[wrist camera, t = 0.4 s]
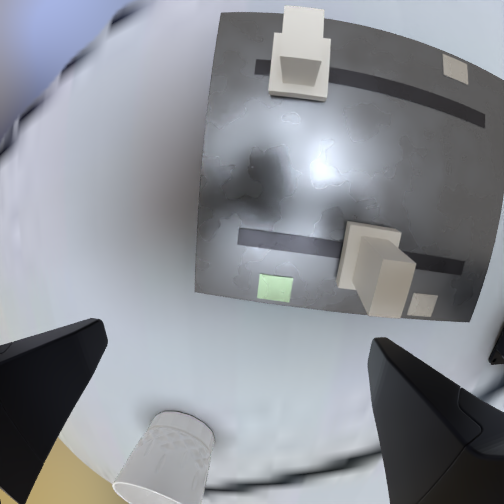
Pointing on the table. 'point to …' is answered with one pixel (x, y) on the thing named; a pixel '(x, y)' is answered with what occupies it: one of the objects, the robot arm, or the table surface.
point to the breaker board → (348, 170)
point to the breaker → (300, 56)
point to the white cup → (168, 462)
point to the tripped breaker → (375, 268)
